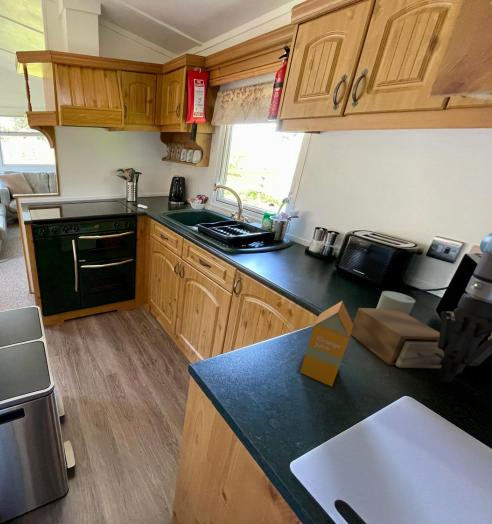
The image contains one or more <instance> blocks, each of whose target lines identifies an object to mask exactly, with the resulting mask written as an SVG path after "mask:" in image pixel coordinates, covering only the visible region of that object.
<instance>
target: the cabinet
mask: <svg viewBox="0 0 492 524" xmlns="http://www.w3.org/2000/svg"><path fill="white" fill-rule="evenodd" d="M352 323H353V329H352V332H351V336H352V337H353V338H355V339H356V340H357V341H358V342H360V343H361V344H362V345H363V346H365V347H366V348H367V349H368V350H370V352H372V353H374V354H375V355H376V356H377V357H378V358H379V359H381V360H382V361H383V362H385V364H387V365H389V366H396V365H395V364H396V362H397V360H394V358H395V356H396V354H397V352H398V349H399V347H400V345H401V343H402V340H403V339H431V340H439V336H440V331H438V330H436V329H434V328H432V327H431V326H428V325H427V324H425V323H424V322H421V321H419V320H418V319H416V318H414V317H413V316H411V315H410V314H409V315H407V314H406V313H404V312H402V311H400V310H399V309H376V307H375V308H372V307H371V308H370V307H358V309H357V311H356V314H355V317H354V319H353V322H352Z"/></svg>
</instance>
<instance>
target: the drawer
mask: <svg viewBox="0 0 492 524" xmlns="http://www.w3.org/2000/svg"><path fill="white" fill-rule="evenodd" d="M438 342H439V340H431V339H403V340H402V343H401V345H400V347H399V349H398V352H397V354H396V356H395V358H394V360H397V362H396V364H395V365H394V366H396V367H398V368H404V369H405V368H407V369H409V368H411V369H441V368H442V365H440V362H441V360H442V358H443V356H444V352H443V351H442V349H439V348H438Z"/></svg>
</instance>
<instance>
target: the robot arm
mask: <svg viewBox="0 0 492 524" xmlns="http://www.w3.org/2000/svg"><path fill="white" fill-rule="evenodd" d="M479 250H480V252H481V256H480V257H479V258H480V259H479V261H478V263H477V265H476V267H475V269H474V271H473V272H472V273H473V274H472V276H471V277H470V279H469V281H468V283H467V286H466V287H465V289H464V290H465V291H464V293H463V294H462V295H461V297H460V299H459V301H458V303H457V308H455V309H454V310H453V311H441V312H440V318H441V325H440V331H439V333H440V336H439V342H438V348H439V349H442V351H443V352H444V356H443V358H442V360H441V362H440V365H442V367H441V368H440V370H439V372H438V373H437V376H436V379H438V380H439V381H440V382H443V383H444V382H445V383H447V382H448V383H452V382H453V380H454V379H455V377H456V375H460V374H462V372H463V371H464V369H465V367H466V366H475V367H476V366H480V364H482V363H483V362H484V361H485V360H486V359H487V358H489V357H490V356H491V355H492V232H491V233H489V234H487V235H485V236H484V237H483V239H481V241H480V243H479ZM486 336H488V337H487V340H485V341H484V339H485V338H486ZM482 341H484V342H483V343H482V344H481V345H480V343H481V342H482Z"/></svg>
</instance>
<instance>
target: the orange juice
mask: <svg viewBox="0 0 492 524" xmlns="http://www.w3.org/2000/svg"><path fill="white" fill-rule="evenodd" d="M352 329H353V322H352V320H351V317H350V314H349V312H348V310H347V308H346V306H345V304H344V302H343V300H341V301H339V302H338V303H336V304H334V305H333V306H331V307H329V308H328V309H326V310H324V311H322V312H320V313H319V315H318V317H317V319H316V321H315V322H314V324H313V327H312V332H311V333H310V338H309V342H308V345H307V348H306V351H305V354H304V359H303V361H302V365H301V368H300V371H299V373H300V374H303V375H305V376H307V377H310V378H312V379H314V380H316V381H318V382H320V383H322V384H325V385H327V386H329V387H332V388H333V385H334V382H335V379H336V377H337V374H338V371H339V369H340V366H341V363H342V361H343V357H344V354H345V352H346V351H347V346H348V344H349V342H350V339H351V336H352V335H351V332H352Z"/></svg>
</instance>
